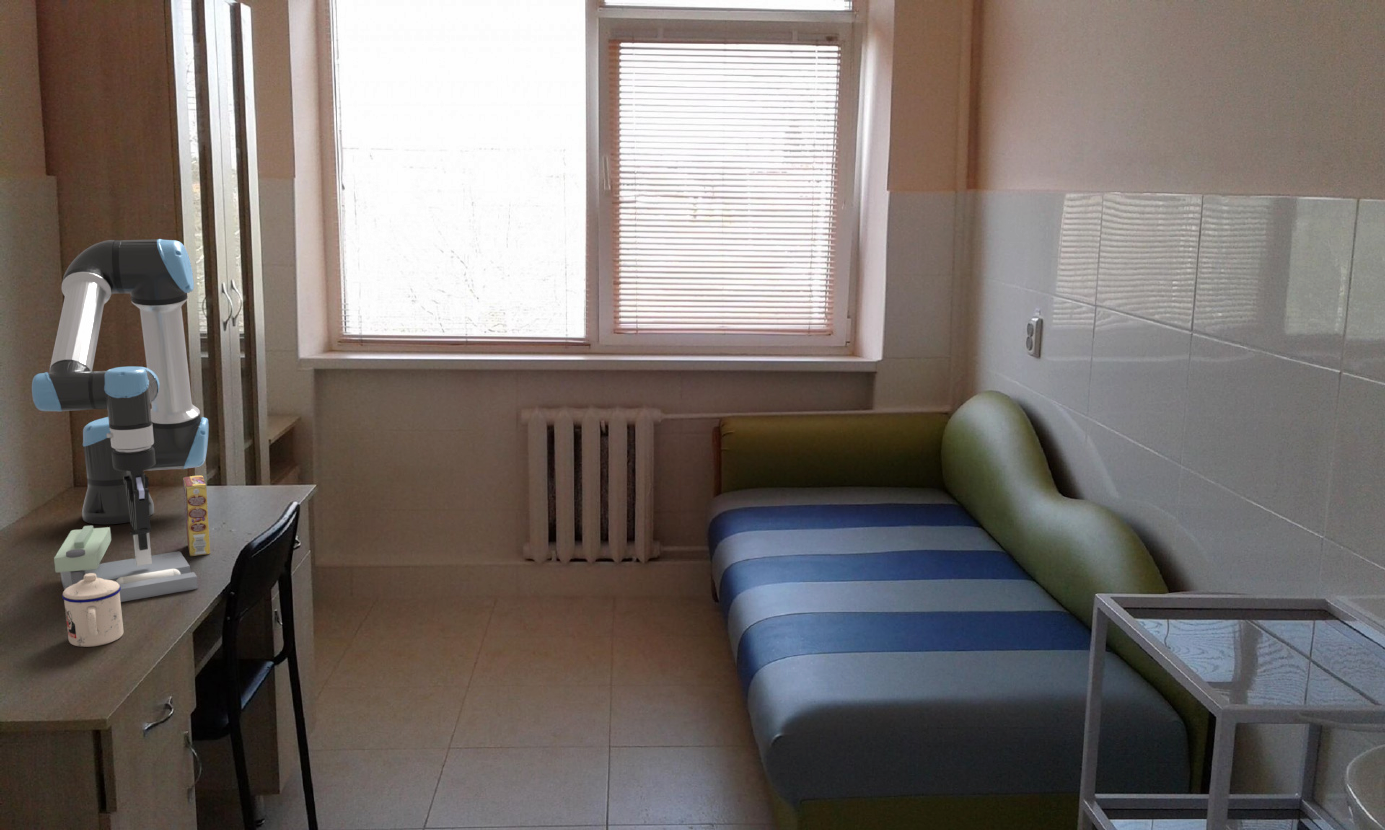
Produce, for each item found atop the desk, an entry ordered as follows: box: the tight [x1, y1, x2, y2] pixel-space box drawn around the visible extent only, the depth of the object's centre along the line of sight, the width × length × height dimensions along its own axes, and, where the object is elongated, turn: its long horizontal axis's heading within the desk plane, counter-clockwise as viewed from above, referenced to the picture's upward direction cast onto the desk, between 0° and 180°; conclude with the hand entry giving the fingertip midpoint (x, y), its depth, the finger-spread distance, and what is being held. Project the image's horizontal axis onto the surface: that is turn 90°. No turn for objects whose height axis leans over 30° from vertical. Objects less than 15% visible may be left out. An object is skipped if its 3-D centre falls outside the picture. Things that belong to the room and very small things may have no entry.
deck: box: [60, 550, 199, 603], centre depth 234 cm, size 18×22×6 cm
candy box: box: [182, 475, 211, 557], centre depth 255 cm, size 9×4×15 cm, turn 26°
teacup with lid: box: [61, 573, 124, 648], centre depth 207 cm, size 12×9×12 cm
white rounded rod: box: [116, 569, 181, 585], centre depth 233 cm, size 3×12×3 cm
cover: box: [53, 525, 112, 574], centre depth 233 cm, size 19×7×4 cm, turn 18°
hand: (144, 563), depth 237 cm, fingers closed
